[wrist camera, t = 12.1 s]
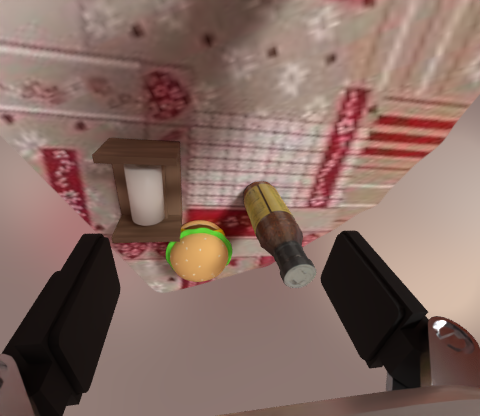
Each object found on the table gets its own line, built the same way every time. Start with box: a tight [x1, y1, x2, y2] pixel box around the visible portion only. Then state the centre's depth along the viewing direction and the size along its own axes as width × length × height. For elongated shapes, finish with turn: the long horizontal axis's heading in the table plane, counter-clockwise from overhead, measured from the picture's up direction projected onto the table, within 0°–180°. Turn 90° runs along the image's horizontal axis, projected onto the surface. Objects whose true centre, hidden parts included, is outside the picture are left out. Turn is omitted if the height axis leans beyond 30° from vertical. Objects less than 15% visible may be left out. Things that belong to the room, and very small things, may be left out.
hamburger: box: [166, 220, 232, 282], centre depth 45 cm, size 12×12×9 cm
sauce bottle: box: [243, 181, 316, 288], centre depth 36 cm, size 6×6×20 cm
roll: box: [124, 164, 165, 226], centre depth 37 cm, size 9×5×5 cm, turn 174°
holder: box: [92, 138, 182, 243], centre depth 37 cm, size 14×10×7 cm
